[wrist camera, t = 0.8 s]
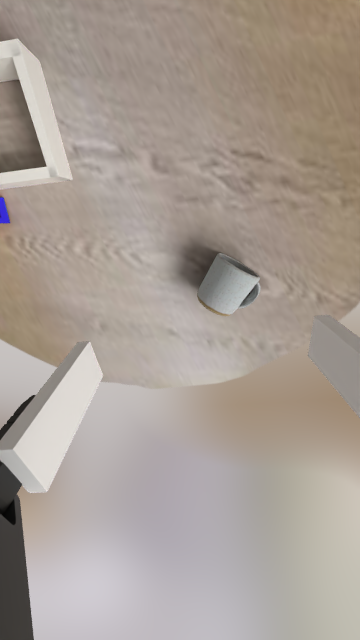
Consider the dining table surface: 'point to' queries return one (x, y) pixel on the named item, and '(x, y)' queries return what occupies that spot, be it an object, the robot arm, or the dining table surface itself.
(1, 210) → the toy building block
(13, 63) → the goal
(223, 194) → the dining table surface
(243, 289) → the ceramic mug
